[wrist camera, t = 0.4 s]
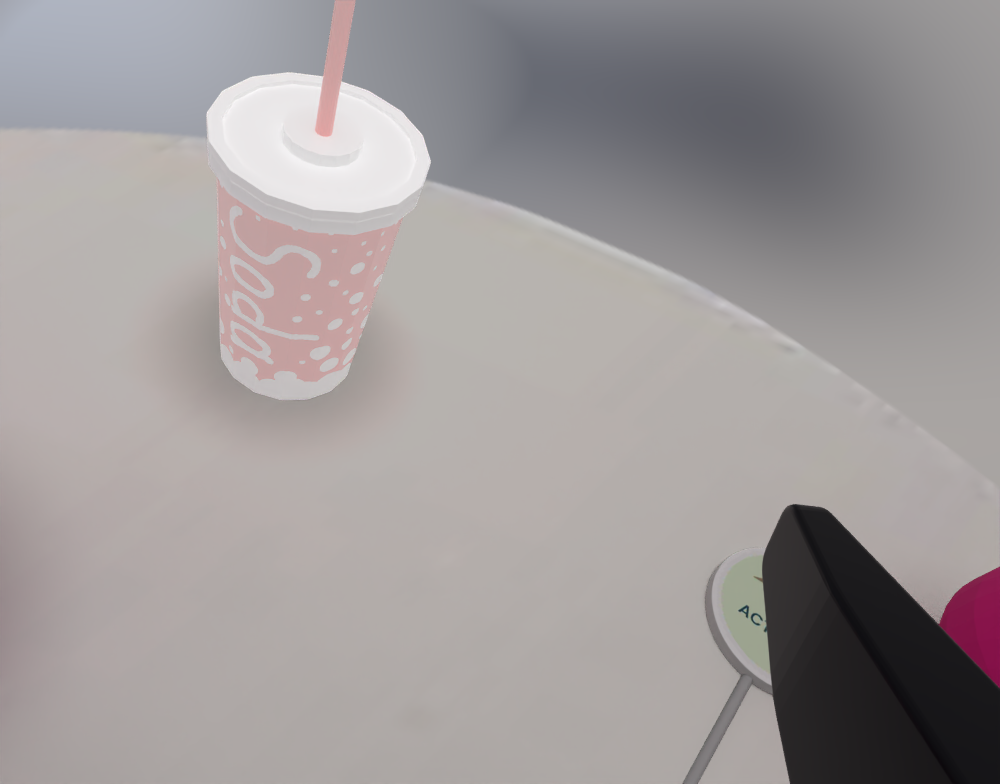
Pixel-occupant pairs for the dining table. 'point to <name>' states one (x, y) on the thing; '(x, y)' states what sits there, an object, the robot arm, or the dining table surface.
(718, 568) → the sign
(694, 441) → the dining table surface
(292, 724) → the dining table surface
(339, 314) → the beverage cup
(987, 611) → the pepper mill
